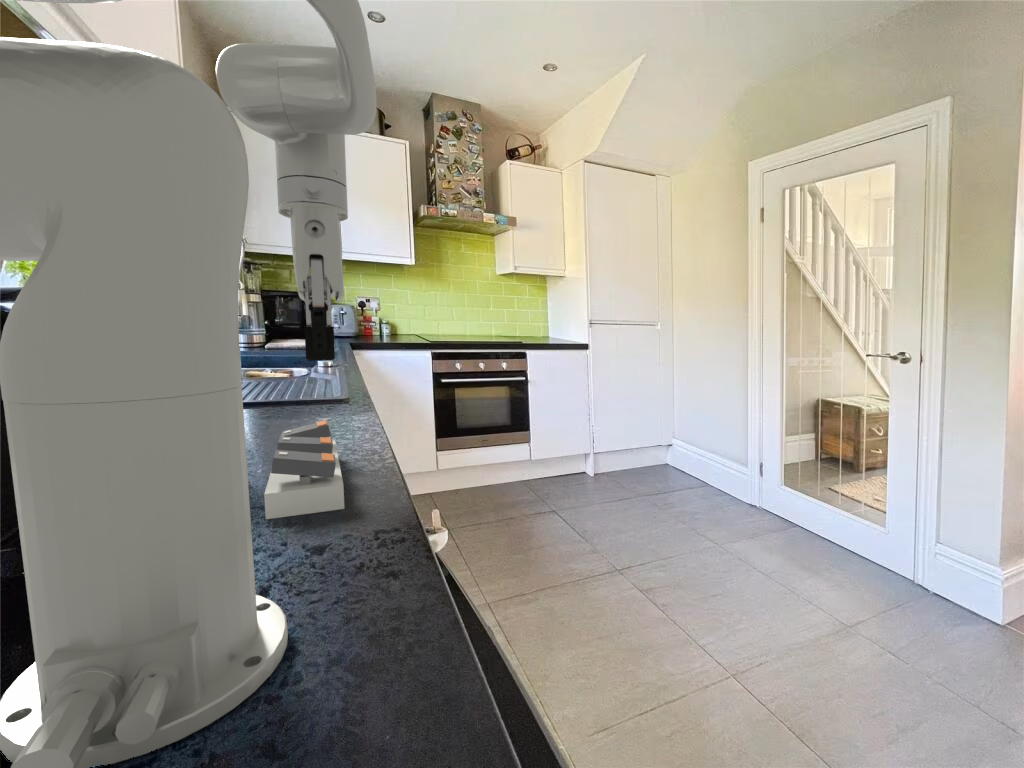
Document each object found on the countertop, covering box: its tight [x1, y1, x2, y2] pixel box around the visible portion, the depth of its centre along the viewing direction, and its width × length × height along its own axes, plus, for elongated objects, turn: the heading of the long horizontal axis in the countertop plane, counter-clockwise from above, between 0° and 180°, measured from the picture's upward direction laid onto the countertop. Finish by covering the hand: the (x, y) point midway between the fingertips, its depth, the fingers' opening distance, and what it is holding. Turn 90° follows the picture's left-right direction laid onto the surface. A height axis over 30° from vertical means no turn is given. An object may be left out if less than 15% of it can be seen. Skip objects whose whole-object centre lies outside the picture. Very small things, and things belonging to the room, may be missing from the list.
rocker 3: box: [270, 449, 336, 478], centre depth 52 cm, size 4×6×2 cm, turn 112°
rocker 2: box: [276, 435, 333, 454], centre depth 59 cm, size 4×6×2 cm, turn 112°
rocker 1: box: [280, 419, 332, 438], centre depth 67 cm, size 4×6×2 cm, turn 112°
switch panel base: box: [264, 439, 345, 520], centre depth 60 cm, size 22×7×4 cm, turn 22°
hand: (320, 359), depth 59 cm, fingers closed
